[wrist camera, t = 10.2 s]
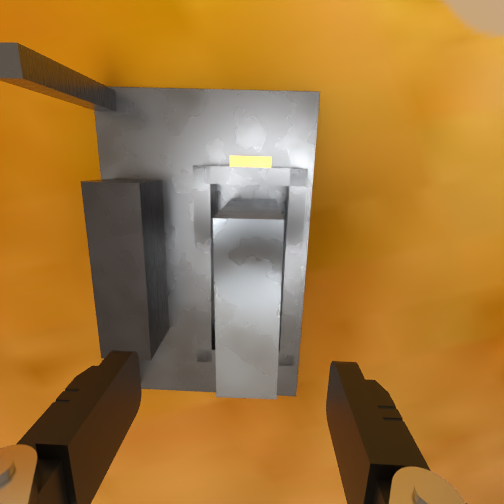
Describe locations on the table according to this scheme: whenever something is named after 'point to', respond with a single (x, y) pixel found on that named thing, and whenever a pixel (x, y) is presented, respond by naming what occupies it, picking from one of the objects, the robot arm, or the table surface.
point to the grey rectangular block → (247, 297)
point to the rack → (182, 209)
